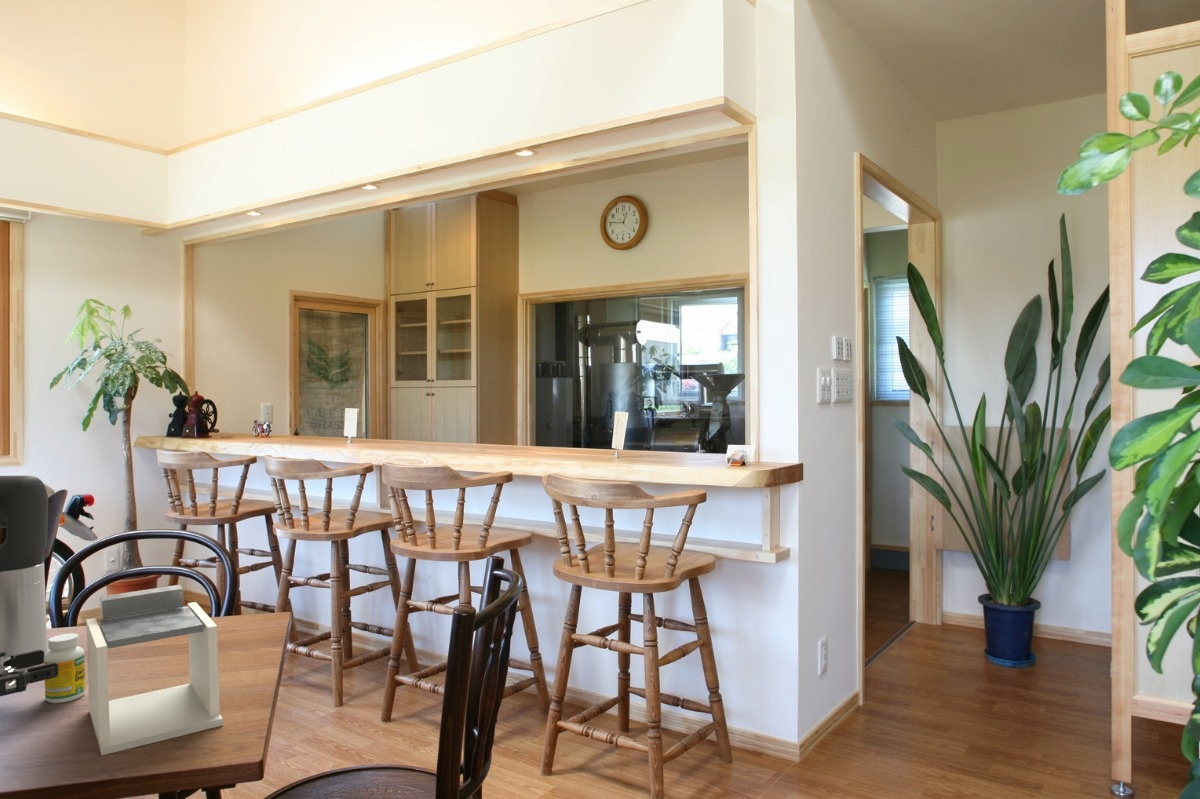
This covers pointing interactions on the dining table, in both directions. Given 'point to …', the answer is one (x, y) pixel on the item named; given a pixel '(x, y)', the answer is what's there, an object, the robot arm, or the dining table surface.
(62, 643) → the supplement bottle
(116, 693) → the dining table surface
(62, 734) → the dining table surface
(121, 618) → the trapdoor
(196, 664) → the trapdoor stand
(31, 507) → the robot arm
